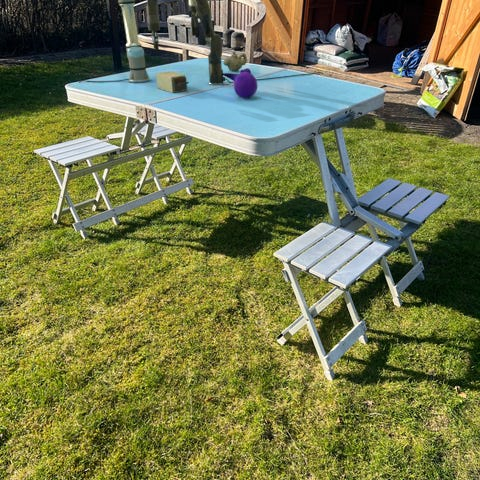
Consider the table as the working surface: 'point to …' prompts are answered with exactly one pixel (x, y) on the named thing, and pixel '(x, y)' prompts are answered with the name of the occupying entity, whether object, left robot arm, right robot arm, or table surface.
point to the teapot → (235, 62)
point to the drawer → (179, 84)
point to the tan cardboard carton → (167, 80)
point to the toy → (243, 83)
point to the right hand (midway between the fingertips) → (156, 49)
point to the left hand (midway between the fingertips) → (195, 36)
